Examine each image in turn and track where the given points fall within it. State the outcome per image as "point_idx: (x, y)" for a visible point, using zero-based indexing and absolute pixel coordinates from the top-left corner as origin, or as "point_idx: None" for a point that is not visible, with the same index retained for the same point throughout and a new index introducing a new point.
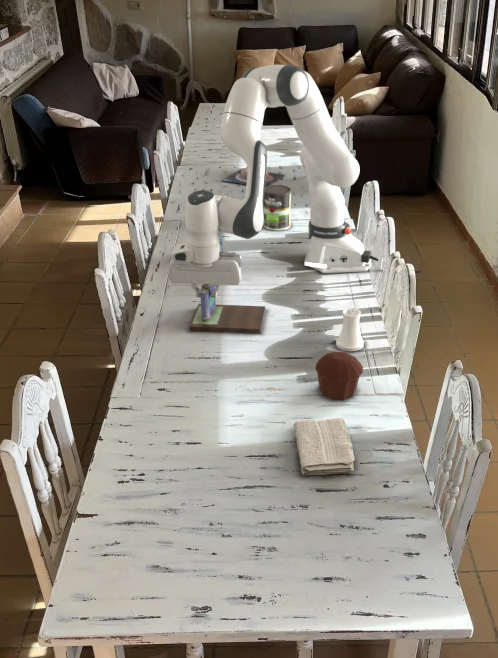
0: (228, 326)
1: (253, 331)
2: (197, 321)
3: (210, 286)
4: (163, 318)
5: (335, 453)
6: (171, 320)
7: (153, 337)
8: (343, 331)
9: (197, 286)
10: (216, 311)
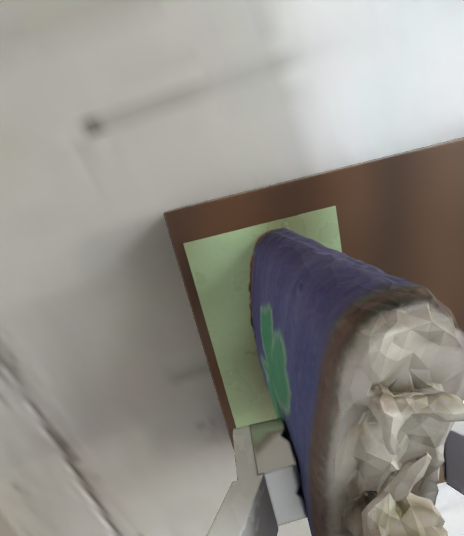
0: None
1: None
2: (255, 412)
3: (432, 485)
4: (43, 380)
5: None
6: (95, 384)
7: (106, 526)
8: None
9: (247, 516)
10: None
